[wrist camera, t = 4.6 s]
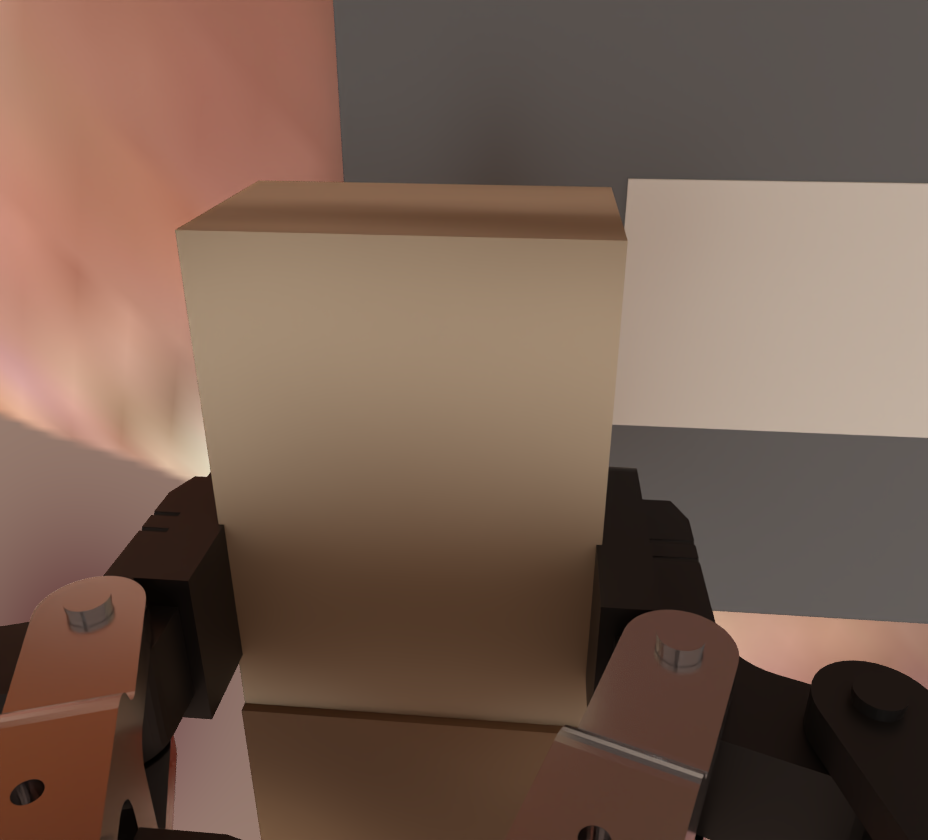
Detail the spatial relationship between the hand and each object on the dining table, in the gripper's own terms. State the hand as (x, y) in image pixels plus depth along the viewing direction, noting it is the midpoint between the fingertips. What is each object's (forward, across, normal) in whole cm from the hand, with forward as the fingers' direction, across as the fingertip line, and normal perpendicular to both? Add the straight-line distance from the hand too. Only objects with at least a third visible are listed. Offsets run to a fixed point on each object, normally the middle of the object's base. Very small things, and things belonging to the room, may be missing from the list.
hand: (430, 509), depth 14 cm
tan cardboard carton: (+1, 0, 0) cm, 1 cm away
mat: (+12, -6, 0) cm, 13 cm away
